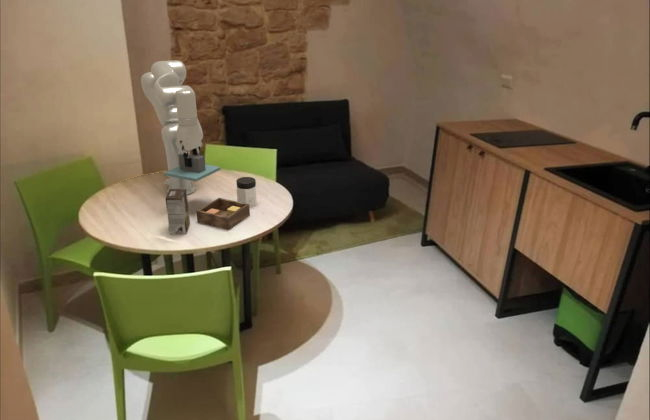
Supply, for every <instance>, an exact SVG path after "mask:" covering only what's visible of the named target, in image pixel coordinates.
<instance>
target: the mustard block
mask: <svg viewBox="0 0 650 420" xmlns="http://www.w3.org/2000/svg"><path fill="white" fill-rule="evenodd" d="M239 209H240V207H236V206H231V207H230V208H228V209H227V217H228V216H229V215H231V214H232V213H234V212H236V211H237V210H239Z"/></svg>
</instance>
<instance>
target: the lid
mask: <svg viewBox="0 0 650 420" xmlns="http://www.w3.org/2000/svg"><path fill="white" fill-rule="evenodd" d="M186 154H187V153H186ZM178 156H179V165H180V166H178V167H176V168H174V169H171V170H169V171H168V170H167V171H165V172H164V176H166V177H169V176H170V177H175V178H180V179H185V180H190V181H191V182H199V181H200V180H203V179H205V178H207V177H209V176H211V175H213V174H215V173H217V172H219V171H221V166H216V165H210V164H206V158H205V155H200V154H198V155H194V154H193V153H190V158H191V161H192V167H186V166H185V162H184V157H183V156H182V155H178Z"/></svg>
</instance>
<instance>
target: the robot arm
mask: <svg viewBox="0 0 650 420" xmlns="http://www.w3.org/2000/svg"><path fill="white" fill-rule="evenodd" d="M186 79H187V69H186V65H185V64H184V62H183V61H181V60H177V59H175V60H160V61H159V60H158V61H155V62H154V63H153V64H152V65H151V68H150V71H148V72H146V73H144V74H142V76H141V78H140V85H141V88H142V91H143V94H144V95H145V97H146V98H147V99H148V101H149V102H150V103H151V104H152V106H153V108H154V111H155V114H156V115H157V119H158V121H159V123H160V124H161V126H162V128H161V137H162V141H163V145H164V148H165V149H164V150H165V156H166V162H167V171H169V170H171V169H174V168H176V167H178V166H180V165H179V156H178V155H182V156H183V157H184V162H185V166H186V167H192V161H191V158H190V154H194V155H200V151H201V148H202V146H203V142H202V140H203V138H204V132H203V128H202V126H201V123H200V121H199V119H198V112H197V110H198V109H197V101H196V100H197V99H196V93H195V90H193V88H192V86H189V85H183V83H184V81H185V80H186ZM191 151H192V152H191ZM186 153H187V154H186ZM163 184H164V185H166V186H168V187H167V190H166V192H167V193H168V192H169V190H170V189H186V192H187V196H188V195H191V194H193V193H194V192H196V186H195V185H193V184H192V181H190V180H185V179H180V178H175V177H170V176H168V178H166V179H165V181H164V183H163Z"/></svg>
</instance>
